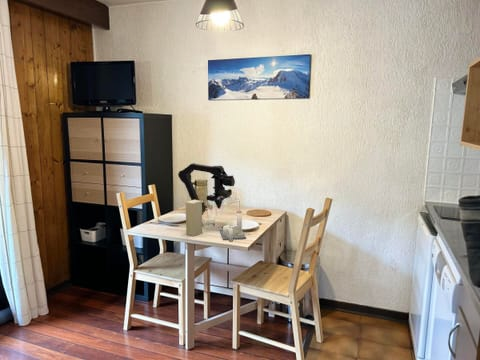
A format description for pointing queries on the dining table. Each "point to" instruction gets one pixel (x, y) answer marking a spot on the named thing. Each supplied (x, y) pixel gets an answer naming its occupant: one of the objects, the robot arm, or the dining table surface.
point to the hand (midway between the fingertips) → (219, 208)
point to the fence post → (238, 223)
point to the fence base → (228, 232)
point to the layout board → (234, 236)
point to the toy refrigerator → (194, 217)
